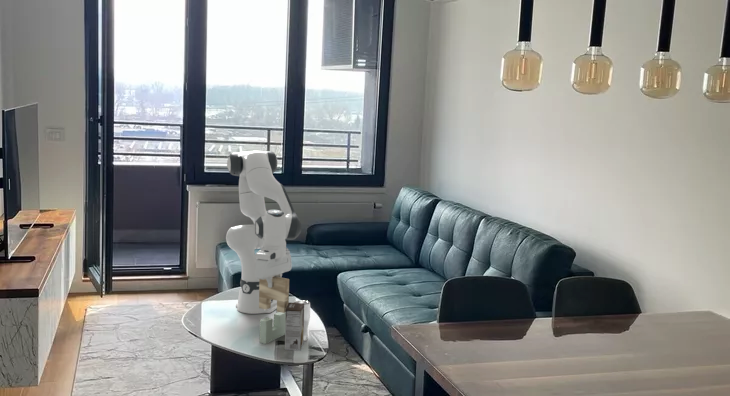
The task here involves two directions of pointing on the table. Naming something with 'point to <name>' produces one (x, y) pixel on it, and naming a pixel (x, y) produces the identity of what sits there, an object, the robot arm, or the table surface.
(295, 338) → the coffee box
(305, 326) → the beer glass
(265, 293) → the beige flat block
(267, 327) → the sage stand plate
